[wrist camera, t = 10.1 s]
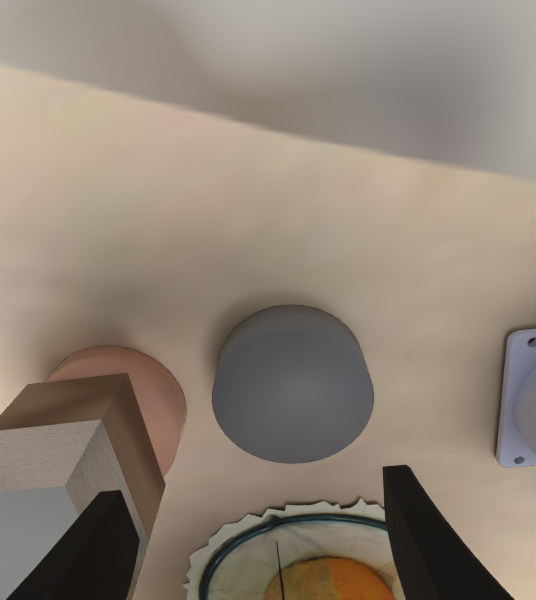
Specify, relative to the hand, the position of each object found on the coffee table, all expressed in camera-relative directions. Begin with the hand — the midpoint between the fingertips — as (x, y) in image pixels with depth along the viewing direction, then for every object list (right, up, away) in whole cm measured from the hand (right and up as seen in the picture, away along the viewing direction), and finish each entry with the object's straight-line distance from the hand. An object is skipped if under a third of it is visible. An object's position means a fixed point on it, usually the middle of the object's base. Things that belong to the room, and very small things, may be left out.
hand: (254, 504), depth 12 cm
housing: (-7, -1, +8) cm, 11 cm away
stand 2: (+1, +2, +9) cm, 10 cm away
